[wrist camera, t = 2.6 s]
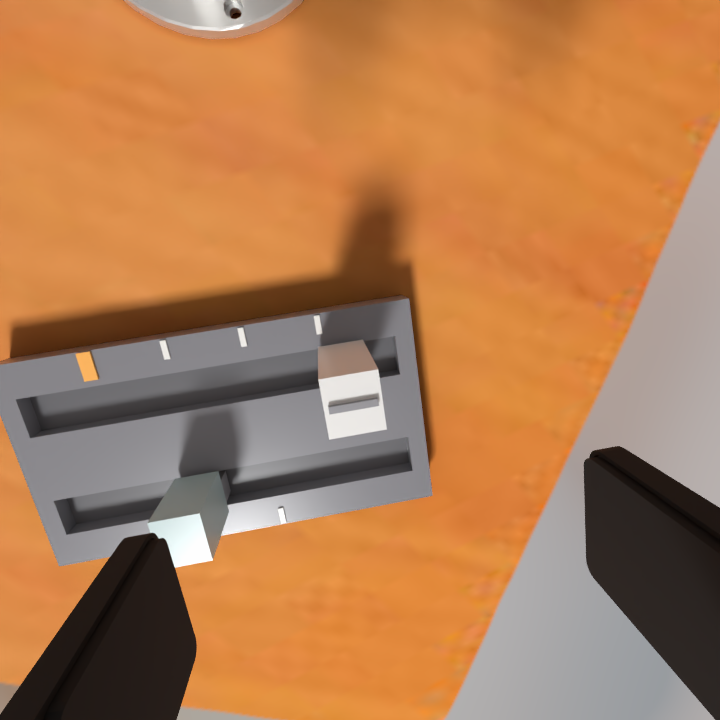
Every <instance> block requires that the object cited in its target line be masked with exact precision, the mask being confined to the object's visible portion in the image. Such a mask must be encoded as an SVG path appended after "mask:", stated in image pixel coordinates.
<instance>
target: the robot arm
mask: <svg viewBox="0 0 720 720" xmlns="http://www.w3.org/2000/svg"><path fill="white" fill-rule="evenodd" d="M123 1H125V2H126V3H127V4H128V5H129V6H130V7H131V8H133V9H134V10H135V11H137V12H139V13H140V14H142V15H144V16H145V17H147V18H148V19H150V20H152V21H153V22H155V23H157V24H158V25H161V26H163V27H166V28H168V29H171V30H173V31H176V32H179V33H181V34H184V35H189V36H195V37H201V38H206V39H227V38H238V37H242V36H245V35H249V34H253V33H257V32H260V31H262V30H264V29H266V28H268V27H270V26H271V25H273V24H275V23H277V22H279V21H281V20H282V19H284V18H285V17H286V16H287V15H288V14H290V13H291V12H292V11H293V10H294V9H295V8H297V7H298V6H299V5H300V4H301V3H302V2H303V1H304V0H123ZM234 13H240V14H241V17H239V18H237V19H232V15H233V14H234ZM584 489H585V490H584V491H585V529H586V560H587V565H588V568H589V571H590V573H591V575H592V576H593V578H594V579H595V580H596V581H597V582H598V584H599V585H600V586H601V587H602V588H603V589H604V591H605V592H606V593H607V594H608V595H609V596H610V598H611V599H612V600H613V601H614V602H615V603H616V604H617V606H618V607H619V608H620V609H621V610H622V611H623V613H624V614H625V615H626V616H627V617H628V618H629V620H630V621H631V622H632V623H633V624H634V626H636V628H637V629H638V630H639V631H640V632H641V633H642V635H643V636H644V637H645V638H646V639H647V640H648V642H649V643H650V644H651V645H652V646H653V647H654V649H655V650H656V651H657V652H658V653H659V655H660V656H661V657H662V658H663V659H664V660H665V662H666V663H667V664H668V665H669V666H670V667H671V669H672V670H673V671H674V672H675V673H676V674H677V676H678V677H679V678H680V679H681V680H682V681H683V682H684V684H685V685H686V686H687V687H688V688H689V689H690V690H691V692H692V693H693V694H694V695H695V696H696V698H697V699H698V700H699V701H700V702H701V703H702V705H703V706H704V707H705V708H706V709H707V710H708V712H709V713H710V714H711V715H712V716H713V717H714V719H715V720H720V508H719V507H717V506H716V505H714V504H713V503H711V502H709V501H708V500H706V499H705V498H703V497H701V496H700V495H698V494H697V493H695V492H693V491H691V490H690V489H689V488H687V487H685V486H684V485H682V484H681V483H679V482H677V481H676V480H674V479H672V478H671V477H669V476H668V475H666V474H664V473H663V472H661V471H660V470H658V469H656V468H655V467H653V466H651V465H650V464H648V463H647V462H645V461H644V460H642V459H640V458H639V457H637V456H636V455H634V454H632V453H631V452H629V451H627V450H626V449H624V448H622V447H620V446H617V447H611V448H605V449H600V450H595V451H593V452H591V454H590V458H588V459H586V460H585V462H584ZM195 657H196V638H195V634H194V631H193V628H192V624H191V621H190V617H189V614H188V611H187V607H186V604H185V601H184V597H183V594H182V591H181V587H180V584H179V581H178V577H177V574H176V570H175V567H174V564H173V560H172V557H171V554H170V550H169V547H168V544H167V541H166V540H165V539H164V538H158V536H157V535H156V534H155V533H148V534H142V535H137V536H131V537H127V538H124V539H123V540H122V541H121V542H120V544H119V545H118V547H117V548H116V549H115V551H114V552H113V554H112V555H111V557H110V558H109V559H108V561H107V562H106V564H105V565H104V567H103V568H102V569H101V571H100V572H99V574H98V575H97V577H96V578H95V580H94V581H93V582H92V584H91V585H90V587H89V588H88V590H87V591H86V592H85V594H84V595H83V597H82V598H81V600H80V601H79V602H78V604H77V605H76V607H75V608H74V610H73V611H72V612H71V614H70V615H69V617H68V618H67V620H66V621H65V622H64V624H63V625H62V627H61V628H60V630H59V631H58V632H57V634H56V635H55V637H54V638H53V640H52V641H51V642H50V644H49V645H48V647H47V648H46V650H45V651H44V653H43V654H42V655H41V657H40V658H39V660H38V661H37V663H36V664H35V665H34V667H33V668H32V670H31V671H30V673H29V674H28V675H27V677H26V678H25V680H24V681H23V683H22V684H21V685H20V687H19V688H18V690H17V691H16V693H15V694H14V695H13V697H12V698H11V700H10V701H9V703H8V704H7V705H6V707H5V708H4V710H3V711H2V713H1V714H0V720H176V719H177V716H178V713H179V710H180V706H181V703H182V700H183V697H184V694H185V690H186V687H187V684H188V681H189V677H190V674H191V671H192V668H193V664H194V661H195Z"/></svg>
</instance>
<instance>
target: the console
mask: <svg viewBox="0 0 720 720" xmlns="http://www.w3.org/2000/svg"><path fill="white" fill-rule="evenodd" d="M357 340H363V341H364V343H365V345H366V347H367V349H368V351H369V352H370V354H371V356H372V358H373V360H374V362H375V364H376V366H377V368H378V371H379V378H380V385H381V392H382V398H383V405H384V412H385V419H386V426H387V429H386V430H381V431H375V432H370V433H364V434H358V435H353V436H347V437H342V438H336V439H331V440H329V436H328V430H327V425H326V419H325V414H324V408H323V403H322V397H321V392H320V386H319V381H318V347H321V346H327V345H333V344H339V343H345V342H351V341H357ZM0 416H1V418H2V421H3V423H4V426H5V428H6V431H7V433H8V436H9V439H10V441H11V444H12V446H13V449H14V451H15V454H16V457H17V459H18V462H19V464H20V467H21V469H22V472H23V475H24V477H25V480H26V482H27V485H28V487H29V490H30V492H31V495H32V498H33V500H34V503H35V505H36V508H37V510H38V513H39V516H40V518H41V521H42V523H43V526H44V528H45V531H46V534H47V536H48V539H49V541H50V544H51V546H52V549H53V551H54V554H55V557H56V559H57V562H58V564H59V566H64V565H69V564H74V563H80V562H85V561H90V560H96V559H101V558H106V557H111V555H112V554H113V552H114V551H115V549H116V548H117V547H118V545H119V544H120V542H121V541H122V540H123V539H124V538H127V537H131V536H137V535H142V534H148V533H150V530H149V527H148V524H147V523H148V521H149V519H150V518H151V516H152V515H153V513H154V511H155V510H156V508H157V507H158V505H159V503H160V502H161V500H162V499H163V497H164V495H165V494H166V492H167V491H168V489H169V487H170V486H171V484H172V483H173V481H174V479H177V478H183V477H188V476H194V475H199V474H205V473H210V472H216V471H223V470H226V474H227V478H228V482H229V486H230V490H231V492H230V495H229V497H228V500H227V506H228V509H229V513H228V516H227V519H226V522H225V525H224V528H223V531H222V534H221V536H222V535H228V534H233V533H238V532H243V531H249V530H254V529H259V528H265V527H270V526H275V525H280V524H286V523H291V522H296V521H302V520H307V519H312V518H317V517H323V516H328V515H333V514H339V513H344V512H349V511H354V510H360V509H365V508H370V507H376V506H381V505H386V504H391V503H397V502H402V501H407V500H413V499H418V498H423V497H428V496H432V487H431V479H430V470H429V462H428V454H427V445H426V437H425V428H424V420H423V412H422V403H421V395H420V386H419V378H418V370H417V361H416V353H415V344H414V336H413V328H412V319H411V311H410V302H409V298H407V297H405V296H403V295H398V296H392V297H385V298H379V299H373V300H367V301H361V302H354V303H348V304H342V305H336V306H330V307H324V308H317V309H311V310H305V311H299V312H293V313H286V314H280V315H274V316H268V317H262V318H255V319H249V320H243V321H237V322H231V323H224V324H218V325H212V326H206V327H200V328H193V329H187V330H181V331H175V332H169V333H163V334H156V335H150V336H144V337H138V338H132V339H125V340H119V341H113V342H107V343H101V344H94V345H88V346H82V347H76V348H70V349H63V350H57V351H51V352H45V353H39V354H32V355H26V356H20V357H14V358H9V359H6V360H3V361H0Z"/></svg>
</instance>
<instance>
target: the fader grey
mask: <svg viewBox="0 0 720 720" xmlns="http://www.w3.org/2000/svg"><path fill="white" fill-rule="evenodd" d="M318 381H319V386H320V392H321V397H322V403H323V408H324V414H325V419H326V425H327V430H328V436H329V440H331V439H336V438H342V437H347V436H353V435H358V434H364V433H370V432H375V431H381V430H386V429H387V426H386V419H385V412H384V405H383V398H382V392H381V385H380V378H379V371H378V368H377V366H376V364H375V362H374V360H373V358H372V356H371V354H370V352H369V351H368V349H367V347H366V345H365V343H364V341H363V340H357V341H351V342H345V343H339V344H333V345H327V346H321V347H318Z"/></svg>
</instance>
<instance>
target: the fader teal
mask: <svg viewBox="0 0 720 720" xmlns="http://www.w3.org/2000/svg"><path fill="white" fill-rule="evenodd" d="M230 492H231V490H230V486H229V482H228V478H227V474H226V470H223V471H216V472H210V473H205V474H199V475H194V476H188V477H183V478H177V479H174V481H173V483H172V484H171V486H170V487H169V489H168V491H167V492H166V494H165V495H164V497H163V499H162V500H161V502H160V503H159V505H158V507H157V508H156V510H155V511H154V513H153V515H152V516H151V518H150V519H149V521H148V523H147V524H148V527H149V530H150V533H155V534H156V535H157V536H158V538H164V539H165V540H166V541H167V544H168V547H169V550H170V554H171V557H172V560H173V564H174V567H180V566H185V565H191V564H196V563H201V562H206V561H211V560H213V558H214V555H215V552H216V549H217V546H218V543H219V540H220V537H221V534H222V531H223V528H224V525H225V522H226V519H227V516H228V513H229V509H228V506H227V500H228V497H229V495H230Z"/></svg>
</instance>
